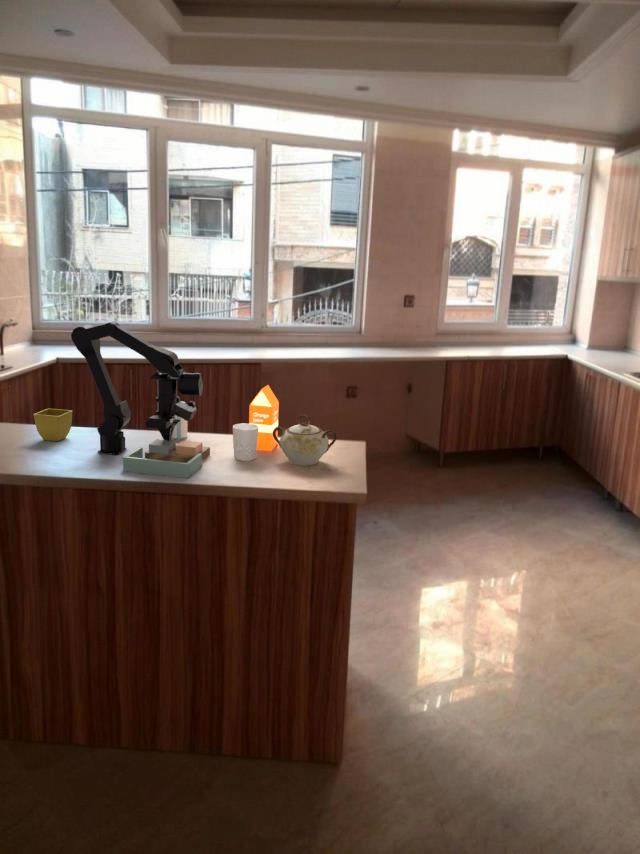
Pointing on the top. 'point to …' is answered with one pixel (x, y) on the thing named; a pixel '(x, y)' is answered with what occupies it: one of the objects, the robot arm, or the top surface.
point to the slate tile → (162, 446)
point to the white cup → (245, 441)
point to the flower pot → (53, 423)
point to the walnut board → (176, 456)
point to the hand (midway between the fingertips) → (167, 443)
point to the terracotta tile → (189, 448)
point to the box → (160, 465)
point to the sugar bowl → (304, 442)
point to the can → (180, 428)
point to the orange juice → (265, 418)
